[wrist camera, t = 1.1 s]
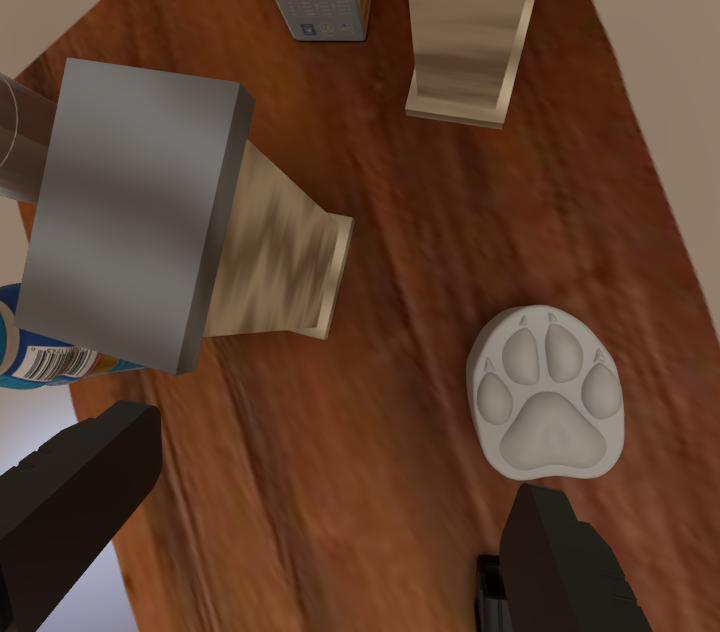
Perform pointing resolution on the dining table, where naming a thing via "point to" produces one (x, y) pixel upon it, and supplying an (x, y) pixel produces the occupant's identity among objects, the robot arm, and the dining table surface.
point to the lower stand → (170, 223)
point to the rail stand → (466, 58)
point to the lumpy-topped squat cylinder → (544, 396)
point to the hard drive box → (326, 19)
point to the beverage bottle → (45, 354)
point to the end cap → (491, 597)
